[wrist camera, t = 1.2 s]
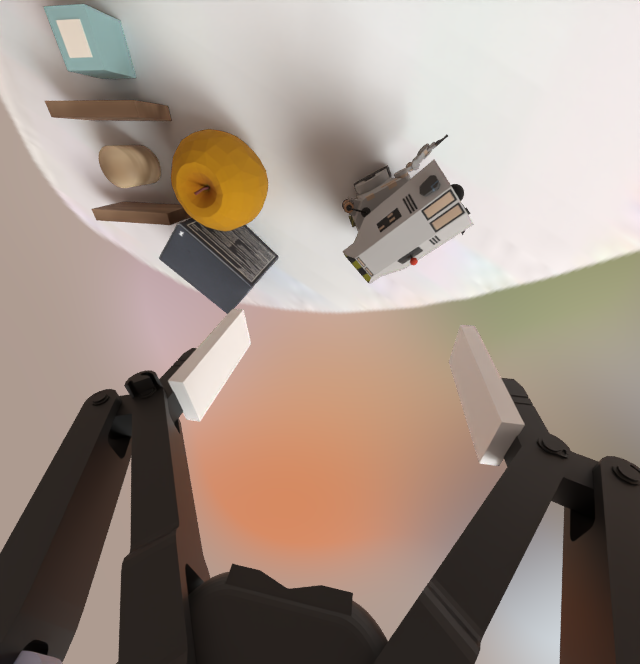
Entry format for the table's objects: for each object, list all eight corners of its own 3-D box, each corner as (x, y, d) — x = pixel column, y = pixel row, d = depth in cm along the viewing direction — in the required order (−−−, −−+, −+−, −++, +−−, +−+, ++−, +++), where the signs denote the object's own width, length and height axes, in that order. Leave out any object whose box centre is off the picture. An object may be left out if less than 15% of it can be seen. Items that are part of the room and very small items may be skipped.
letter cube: (84, 23, 30) (42, 5, 26) (120, 20, 29) (82, 3, 25) (103, 78, 32) (66, 70, 29) (136, 78, 32) (104, 69, 28)
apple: (196, 141, 34) (125, 140, 25) (267, 121, 32) (218, 113, 22) (225, 222, 39) (175, 248, 30) (288, 211, 37) (256, 235, 27)
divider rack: (-43, -251, 22) (-152, -352, 17) (76, -280, 20) (-12, -400, 16) (127, 211, 41) (96, 220, 37) (194, 215, 40) (170, 225, 35)
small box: (201, 235, 41) (154, 259, 33) (222, 201, 38) (176, 219, 29) (256, 283, 44) (226, 317, 36) (280, 256, 41) (253, 286, 32)
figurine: (457, 216, 33) (500, 257, 21) (369, 253, 38) (363, 305, 26) (438, 134, 29) (476, 129, 17) (341, 187, 34) (319, 213, 22)
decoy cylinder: (124, 144, 36) (92, 145, 32) (154, 145, 35) (125, 145, 31) (137, 182, 38) (108, 187, 34) (165, 183, 38) (139, 189, 34)
